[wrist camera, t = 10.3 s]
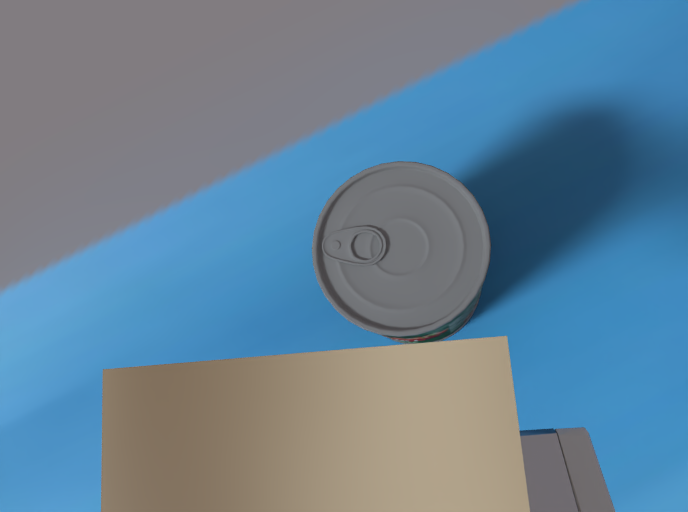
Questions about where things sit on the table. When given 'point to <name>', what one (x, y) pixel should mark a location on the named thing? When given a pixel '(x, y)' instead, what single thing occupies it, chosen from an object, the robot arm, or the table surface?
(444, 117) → the table surface
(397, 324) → the canned tomato
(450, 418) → the oak block
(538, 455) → the robot arm
